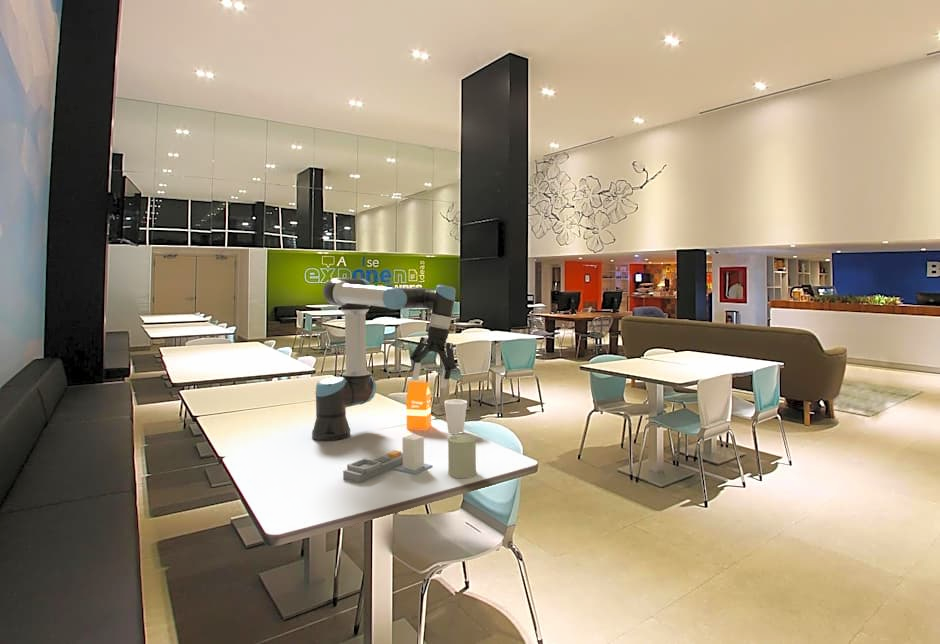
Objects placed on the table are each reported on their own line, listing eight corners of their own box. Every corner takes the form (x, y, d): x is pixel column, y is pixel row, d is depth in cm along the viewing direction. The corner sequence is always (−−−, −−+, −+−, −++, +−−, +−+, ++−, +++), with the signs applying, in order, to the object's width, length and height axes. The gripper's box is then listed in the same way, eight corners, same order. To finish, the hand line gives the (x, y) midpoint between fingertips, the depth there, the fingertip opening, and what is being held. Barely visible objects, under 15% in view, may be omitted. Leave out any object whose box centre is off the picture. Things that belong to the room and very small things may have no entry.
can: (447, 468, 169) (447, 433, 168) (475, 467, 169) (475, 432, 169) (448, 478, 159) (448, 441, 159) (477, 477, 160) (477, 440, 159)
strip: (342, 478, 160) (342, 466, 159) (392, 457, 180) (392, 447, 180) (360, 483, 155) (360, 471, 155) (409, 461, 176) (409, 451, 176)
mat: (394, 469, 168) (394, 468, 168) (411, 461, 175) (411, 460, 175) (415, 474, 163) (415, 473, 163) (432, 466, 171) (432, 465, 171)
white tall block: (402, 467, 169) (402, 437, 168) (412, 463, 173) (412, 434, 172) (414, 470, 166) (414, 440, 165) (423, 466, 170) (423, 436, 169)
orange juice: (426, 430, 217) (426, 383, 216) (406, 429, 218) (406, 383, 217) (431, 425, 224) (431, 380, 223) (412, 424, 226) (411, 380, 225)
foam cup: (464, 435, 208) (464, 404, 207) (442, 434, 210) (442, 403, 209) (468, 429, 217) (468, 399, 217) (447, 428, 219) (447, 398, 218)
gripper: (472, 333, 183) (461, 391, 183) (420, 323, 197) (410, 377, 197) (460, 331, 177) (449, 391, 177) (407, 321, 191) (397, 376, 191)
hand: (428, 383), depth 187 cm, fingers open, 13 cm apart
